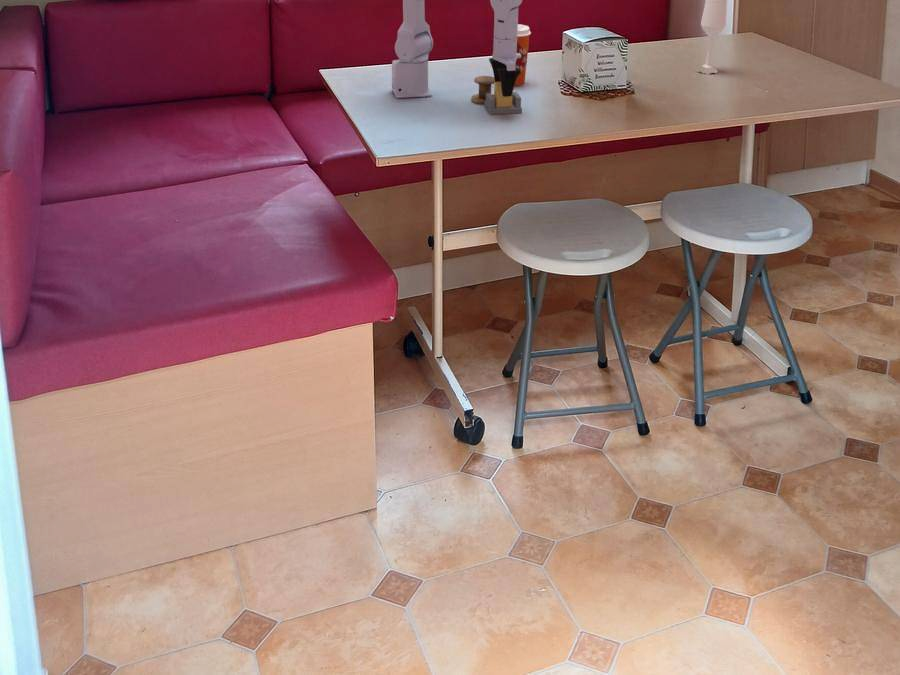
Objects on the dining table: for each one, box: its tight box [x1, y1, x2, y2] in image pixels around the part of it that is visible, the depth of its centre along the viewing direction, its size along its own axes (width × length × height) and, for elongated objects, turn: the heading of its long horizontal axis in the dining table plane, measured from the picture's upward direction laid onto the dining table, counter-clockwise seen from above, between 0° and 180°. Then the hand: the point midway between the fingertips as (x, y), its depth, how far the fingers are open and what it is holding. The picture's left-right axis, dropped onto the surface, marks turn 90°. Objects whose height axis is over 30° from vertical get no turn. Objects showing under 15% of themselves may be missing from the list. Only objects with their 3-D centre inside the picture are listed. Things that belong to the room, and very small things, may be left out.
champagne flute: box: [700, 0, 728, 68], centre depth 288 cm, size 7×7×24 cm
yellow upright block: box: [493, 82, 514, 107], centre depth 260 cm, size 4×3×6 cm
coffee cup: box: [514, 23, 532, 87], centre depth 278 cm, size 8×8×15 cm
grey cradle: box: [484, 91, 523, 116], centre depth 261 cm, size 8×7×4 cm
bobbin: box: [470, 75, 495, 106], centre depth 267 cm, size 7×7×6 cm
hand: (503, 91), depth 260 cm, fingers open, 7 cm apart
